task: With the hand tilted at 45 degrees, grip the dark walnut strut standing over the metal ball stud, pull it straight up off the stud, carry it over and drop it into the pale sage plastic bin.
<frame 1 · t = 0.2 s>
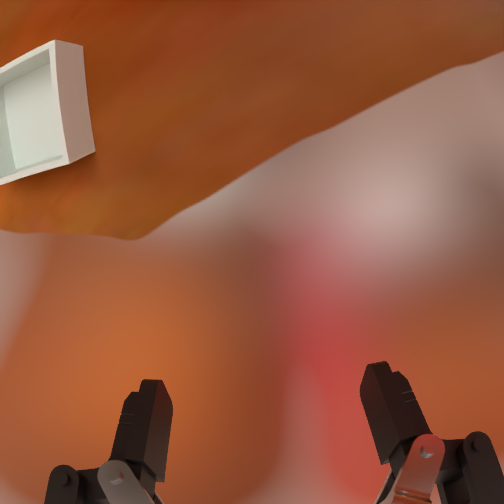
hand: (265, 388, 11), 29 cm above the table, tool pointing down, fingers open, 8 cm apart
bin: (43, 112, 30), on the table
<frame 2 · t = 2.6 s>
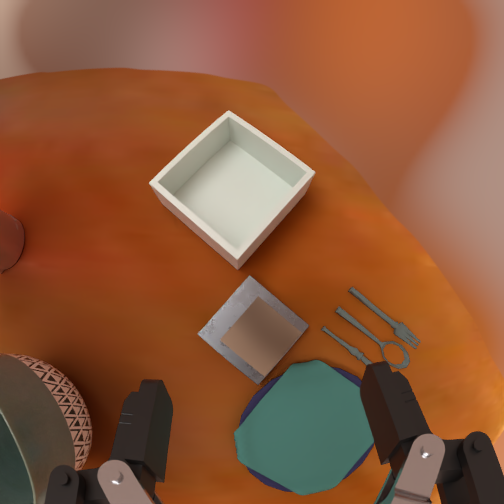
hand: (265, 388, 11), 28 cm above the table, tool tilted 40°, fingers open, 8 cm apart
cutlery set: (331, 402, 38), on the table
stud plate: (253, 330, 39), on the table
bin: (233, 197, 43), on the table
strut: (253, 330, 38), point 1 cm above the table, touching stud plate
planter: (61, 408, 35), on the table
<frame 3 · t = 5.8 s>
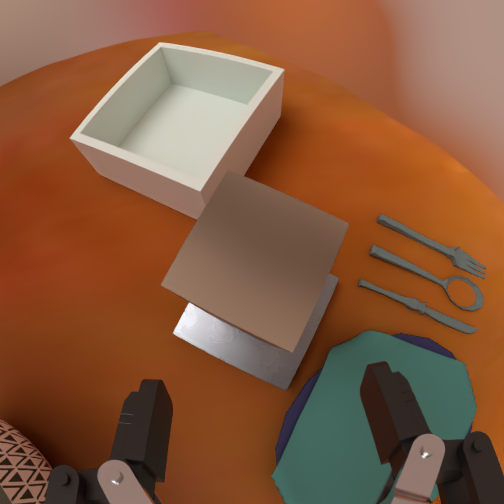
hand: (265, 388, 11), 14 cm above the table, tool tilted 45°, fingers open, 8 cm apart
cutlery set: (402, 388, 24), on the table
stud plate: (257, 309, 25), on the table
bin: (187, 141, 30), on the table
strut: (257, 307, 24), point 1 cm above the table, touching stud plate
planter: (34, 473, 20), on the table
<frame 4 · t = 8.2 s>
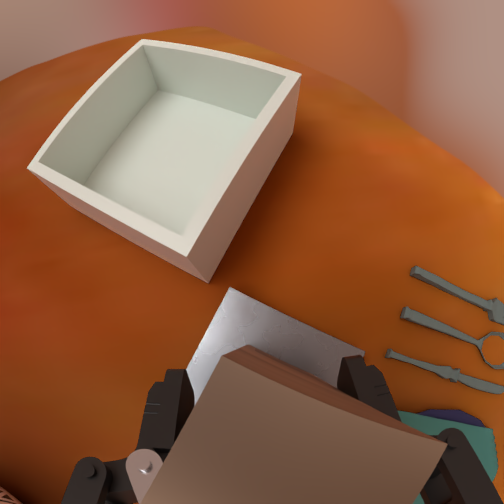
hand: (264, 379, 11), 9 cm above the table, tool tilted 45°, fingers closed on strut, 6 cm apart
cutlery set: (424, 458, 18), on the table
stud plate: (263, 386, 19), on the table
bin: (176, 165, 24), on the table
strut: (264, 390, 18), point 2 cm above the table, touching gripper, stud plate
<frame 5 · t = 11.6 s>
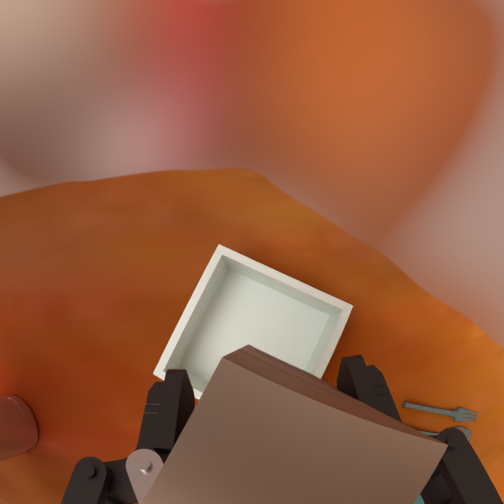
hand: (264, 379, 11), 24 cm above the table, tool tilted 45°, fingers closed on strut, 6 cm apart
cutlery set: (405, 497, 28), on the table
bin: (254, 343, 34), on the table
strut: (264, 390, 18), point 16 cm above the table, touching gripper
when the fingers open (11 cm above the table, at t = 15.3 s): strut drops 3 cm, resting on bin.
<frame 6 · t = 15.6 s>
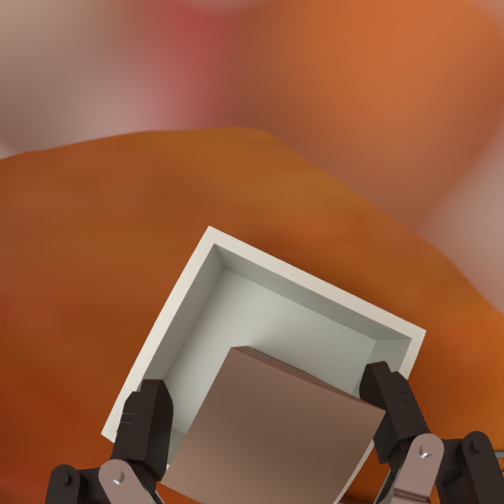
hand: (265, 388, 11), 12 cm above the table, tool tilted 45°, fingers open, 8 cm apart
bin: (262, 382, 22), on the table
strut: (262, 385, 21), point 1 cm above the table, touching bin
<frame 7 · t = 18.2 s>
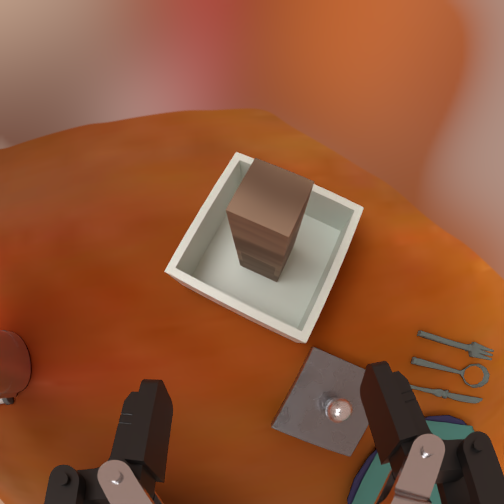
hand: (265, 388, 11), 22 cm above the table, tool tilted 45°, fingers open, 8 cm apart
cutlery set: (427, 446, 28), on the table
stud plate: (330, 402, 31), on the table
bin: (267, 257, 36), on the table
strut: (267, 256, 35), point 1 cm above the table, touching bin
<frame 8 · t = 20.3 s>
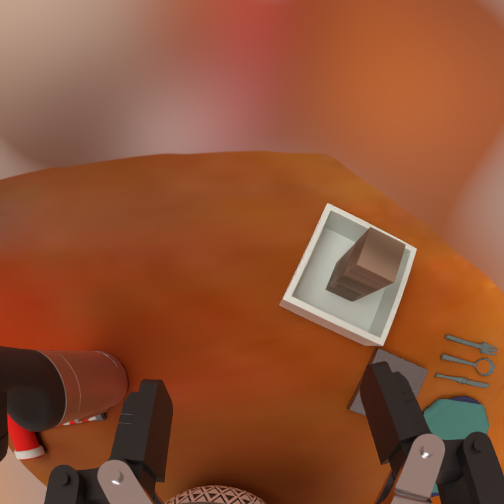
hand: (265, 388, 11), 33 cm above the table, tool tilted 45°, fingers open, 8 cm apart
cutlery set: (452, 421, 38), on the table
stud plate: (387, 388, 40), on the table
bin: (342, 282, 45), on the table
toy hammer: (49, 421, 39), on the table
strut: (344, 282, 44), point 1 cm above the table, touching bin
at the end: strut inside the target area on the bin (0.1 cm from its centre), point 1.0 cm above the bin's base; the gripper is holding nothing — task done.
